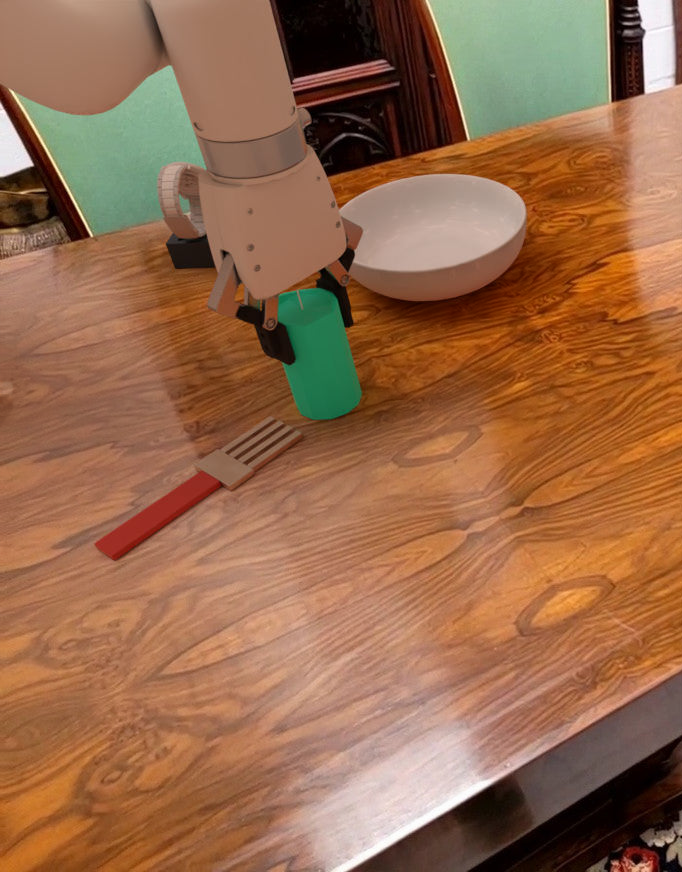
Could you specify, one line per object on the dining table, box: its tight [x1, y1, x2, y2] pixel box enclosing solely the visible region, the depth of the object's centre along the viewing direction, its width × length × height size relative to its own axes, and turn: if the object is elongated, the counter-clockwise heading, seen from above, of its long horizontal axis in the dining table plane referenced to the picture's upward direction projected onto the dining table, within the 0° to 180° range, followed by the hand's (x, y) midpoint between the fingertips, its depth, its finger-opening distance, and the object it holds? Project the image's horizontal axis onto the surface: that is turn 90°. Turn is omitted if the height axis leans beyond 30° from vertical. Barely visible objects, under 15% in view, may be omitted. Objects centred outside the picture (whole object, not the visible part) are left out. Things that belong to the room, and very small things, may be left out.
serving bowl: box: [339, 173, 528, 302], centre depth 102 cm, size 21×21×7 cm
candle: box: [278, 287, 363, 421], centre depth 83 cm, size 6×6×12 cm
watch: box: [156, 161, 216, 269], centre depth 103 cm, size 6×8×11 cm
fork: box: [93, 415, 304, 561], centre depth 78 cm, size 18×5×1 cm, turn 146°
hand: (311, 338), depth 83 cm, fingers closed on candle, 5 cm apart
